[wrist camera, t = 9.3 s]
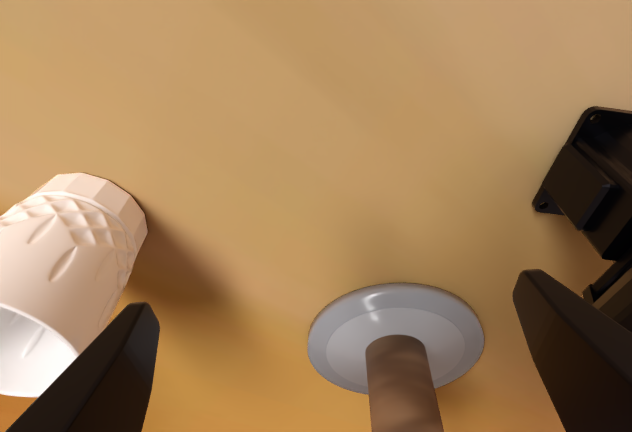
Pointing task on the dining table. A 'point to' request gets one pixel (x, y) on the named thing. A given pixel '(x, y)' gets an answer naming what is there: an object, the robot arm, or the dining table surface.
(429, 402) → the wooden pepper mill
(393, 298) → the plate
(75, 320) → the white cup
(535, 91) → the dining table surface
